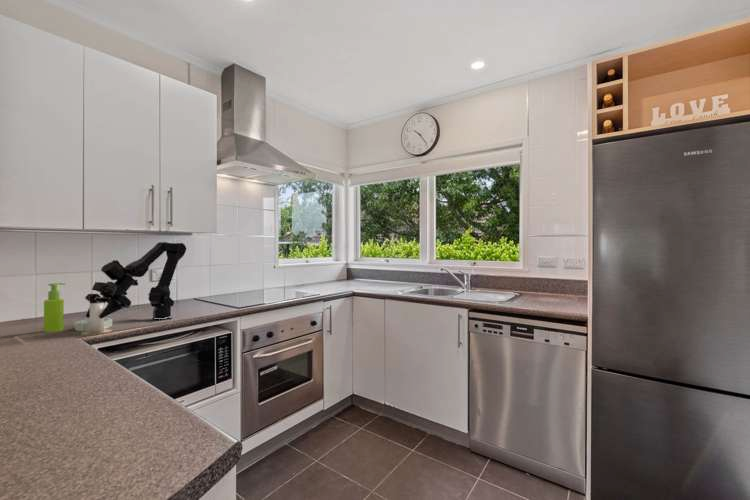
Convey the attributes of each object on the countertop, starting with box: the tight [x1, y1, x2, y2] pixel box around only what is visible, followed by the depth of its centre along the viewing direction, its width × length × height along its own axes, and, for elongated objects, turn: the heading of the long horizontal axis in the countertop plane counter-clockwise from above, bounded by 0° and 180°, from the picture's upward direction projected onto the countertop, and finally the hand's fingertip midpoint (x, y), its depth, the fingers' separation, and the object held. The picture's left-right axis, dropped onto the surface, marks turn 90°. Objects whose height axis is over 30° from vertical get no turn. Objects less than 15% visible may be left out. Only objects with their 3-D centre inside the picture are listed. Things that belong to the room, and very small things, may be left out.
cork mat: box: [80, 328, 113, 336], centre depth 138 cm, size 10×10×1 cm
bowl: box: [74, 317, 113, 332], centre depth 146 cm, size 12×12×4 cm
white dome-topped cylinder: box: [89, 302, 105, 333], centre depth 138 cm, size 5×5×12 cm
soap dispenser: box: [43, 282, 66, 333], centre depth 142 cm, size 6×7×20 cm
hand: (93, 317), depth 137 cm, fingers open, 7 cm apart
